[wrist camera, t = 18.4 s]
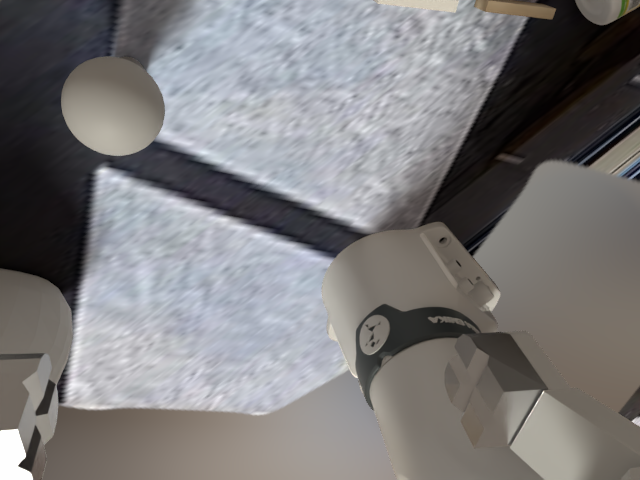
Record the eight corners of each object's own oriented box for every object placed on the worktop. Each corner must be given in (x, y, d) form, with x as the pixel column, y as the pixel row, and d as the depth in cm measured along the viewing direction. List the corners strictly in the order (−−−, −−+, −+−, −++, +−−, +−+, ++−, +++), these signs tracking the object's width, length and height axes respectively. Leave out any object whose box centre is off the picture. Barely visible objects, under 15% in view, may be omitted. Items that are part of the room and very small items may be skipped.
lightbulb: (155, 20, 37) (140, 63, 28) (181, 99, 40) (175, 160, 32) (71, 37, 36) (30, 86, 28) (105, 116, 40) (78, 181, 31)
